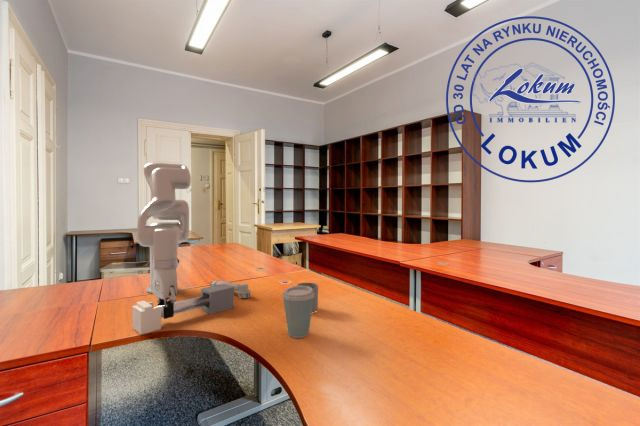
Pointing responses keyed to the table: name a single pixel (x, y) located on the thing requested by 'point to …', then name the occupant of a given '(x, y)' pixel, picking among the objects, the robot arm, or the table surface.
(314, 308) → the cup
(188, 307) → the tube
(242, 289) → the grey stepped bar
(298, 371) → the table surface
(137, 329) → the socket
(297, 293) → the disposable coffee cup
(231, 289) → the grey rectangular box
